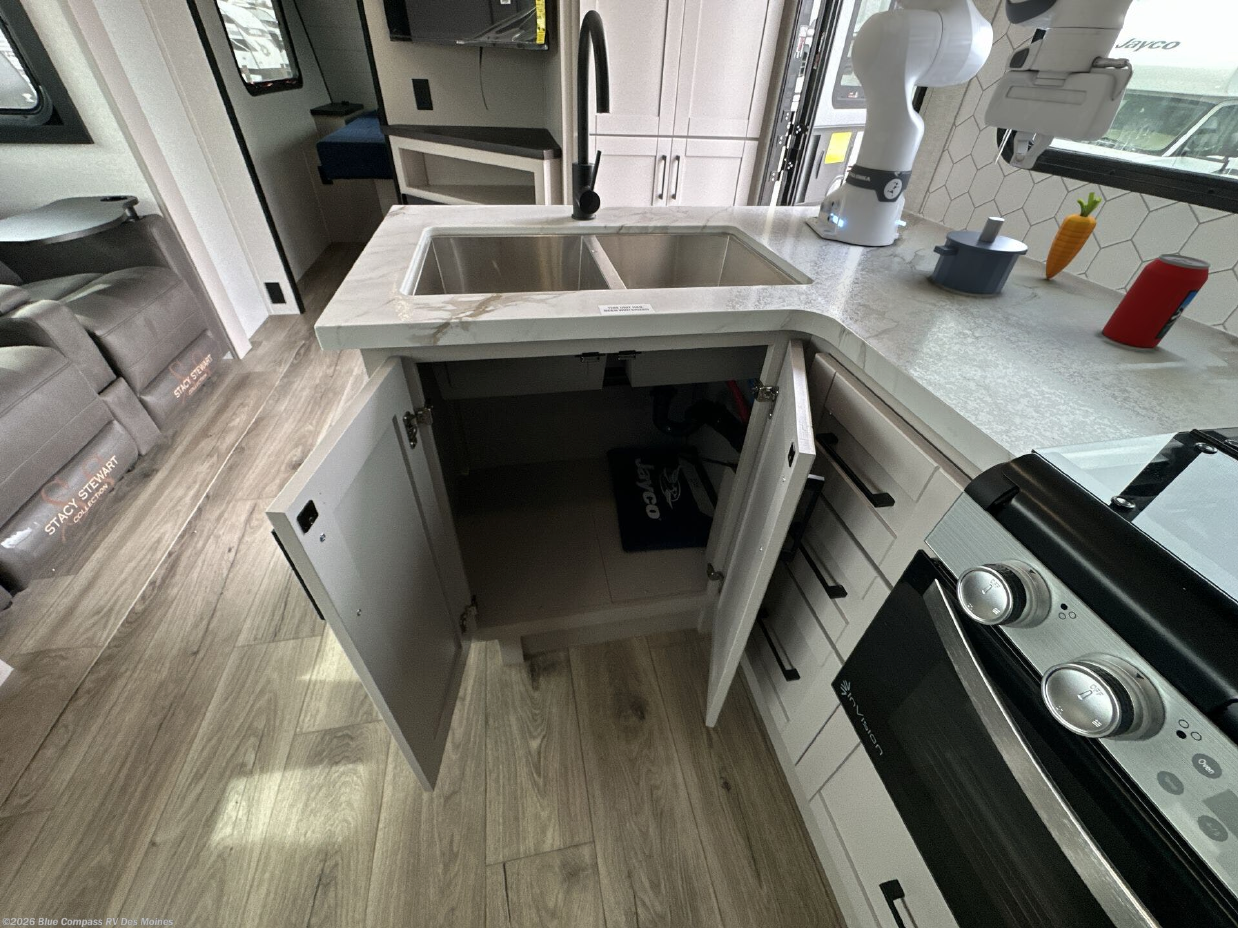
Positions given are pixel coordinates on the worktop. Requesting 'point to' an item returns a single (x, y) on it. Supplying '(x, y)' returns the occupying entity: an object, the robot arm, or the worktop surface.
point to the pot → (972, 269)
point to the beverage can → (1156, 300)
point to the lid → (987, 239)
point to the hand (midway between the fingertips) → (1019, 167)
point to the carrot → (1071, 237)
